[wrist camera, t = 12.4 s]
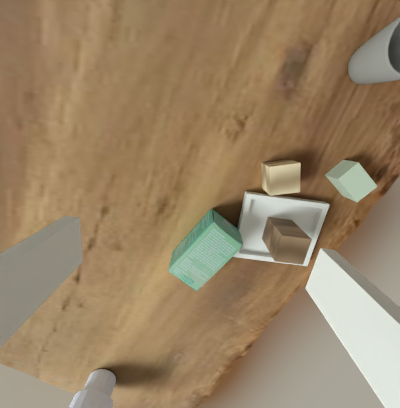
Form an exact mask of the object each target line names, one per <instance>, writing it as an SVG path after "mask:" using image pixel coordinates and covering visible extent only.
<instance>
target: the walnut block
mask: <svg viewBox="0 0 400 408" xmlns="http://www.w3.org/2000/svg"><path fill="white" fill-rule="evenodd" d="M262 240H263V242H264V243H265V245H266V247H267V249H268V250H269V252H270V254H271V256H272V257H273V259H274V261H277V262H285V263H293V264H301V265H303V263H304V261H305V258H306V255H307V252H308V249H309V246H310V244H311V241H312V239H311V238H310V237H309V236H308V235H307V234H306V233H305V232H304V231H303V230H302V229H301V228H300V227H299V226H298V225H297V224H295V223H294V222H293V221H292V220H288V219H281V218H273V217H267V221H266V225H265V228H264V232H263V236H262Z"/></svg>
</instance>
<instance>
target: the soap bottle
mask: <svg viewBox="0 0 400 408" xmlns="http://www.w3.org/2000/svg"><path fill="white" fill-rule="evenodd" d="M115 383H116V377H115V375H114V374H113V373H112V372H111V371H109V370H106V369H97V370H95V371H93V372H92V373H91V374H90V376H89V378H88V380H87V382H86V385H85V387H84V389H83V390H81V391H79V392H77V393H76V394H75V396H74V398H73V400H72V402H71V404H70V406H69V408H112V407H113V400H112V399H111V394H112V391H113V389H114V386H115Z"/></svg>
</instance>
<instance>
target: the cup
mask: <svg viewBox="0 0 400 408" xmlns="http://www.w3.org/2000/svg"><path fill="white" fill-rule="evenodd" d="M348 73H349V76H350V78H351V80H352V81H353V82H355V83H357V84H372V83H381V82H388V81H395V80H400V17H398V18H397V19H396V20H394V21H393V22H392V23H390V24H389V25H387V26H386V27H385V28H383V29H382V30H381V31H379V32H378V33H377V34H376V35H374V36H373V37H372V38H371V39H369V40H368V41H367V42H366V43H364V44H363V45H362V46H361V47H359V48H358V49H357V50H356V51H355V52H354V54H353V55H352V57H351V59H350V61H349V66H348Z"/></svg>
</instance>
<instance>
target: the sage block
mask: <svg viewBox="0 0 400 408" xmlns="http://www.w3.org/2000/svg"><path fill="white" fill-rule="evenodd" d="M326 177H327V178H328V179H329V180H330V181H331V182H332V184H333V185H334V186H335V187H336V188H337V190H338V191H339V192H340V193H341V194H342V195H343V196H344V197H346V198H349V199H351V200H353V201H356V202H358V201H359V200H361V199H362V198H363V197H365V196H366V195H367V194H369V193H370V192H371V191H372V190H374V189H375V188H376V187H377V185H376V184H375V183H374V181H373V180H372V179H371V178H370V176H369V175H368V174H367V172H366V171H365V170H364V169H363V167H362V166H361V165H360V164H359V162H354V161H348V160H342V161H341V162H340V163H339V164H338V165H336V166H335V167H334V168H333V169H332V170H330V171H329V172H328V173H327V174H326Z"/></svg>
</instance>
